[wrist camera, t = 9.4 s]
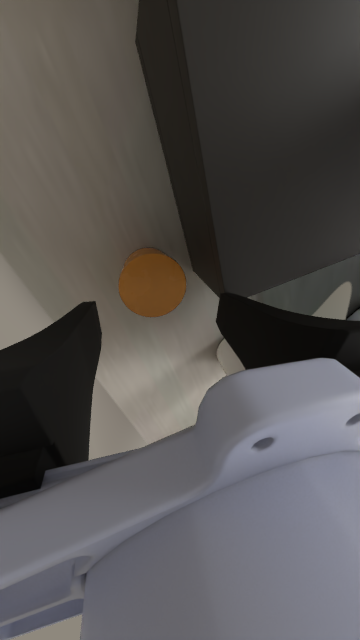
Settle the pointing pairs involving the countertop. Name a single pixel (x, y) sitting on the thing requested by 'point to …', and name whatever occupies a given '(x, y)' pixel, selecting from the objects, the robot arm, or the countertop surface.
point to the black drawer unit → (258, 132)
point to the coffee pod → (151, 283)
